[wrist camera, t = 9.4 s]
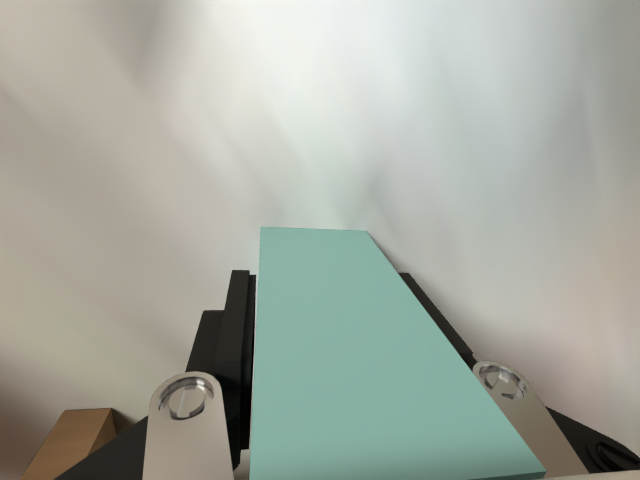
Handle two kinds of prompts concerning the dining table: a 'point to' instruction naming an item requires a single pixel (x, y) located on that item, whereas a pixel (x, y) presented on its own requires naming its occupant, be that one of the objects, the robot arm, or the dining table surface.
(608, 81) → the dining table surface
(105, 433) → the cabinet
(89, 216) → the dining table surface
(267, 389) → the teal toy mallet
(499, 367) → the robot arm
